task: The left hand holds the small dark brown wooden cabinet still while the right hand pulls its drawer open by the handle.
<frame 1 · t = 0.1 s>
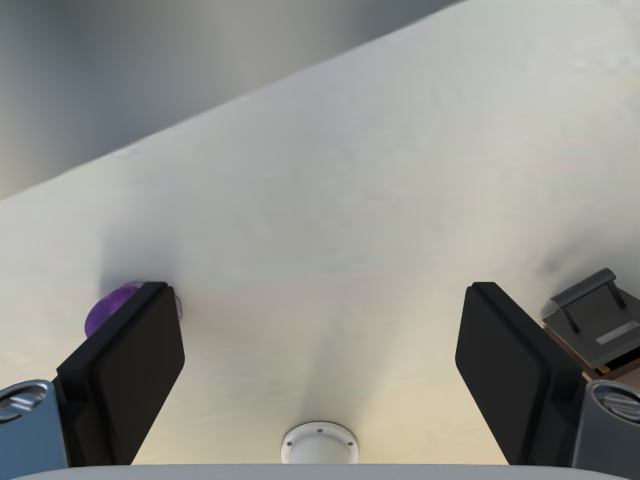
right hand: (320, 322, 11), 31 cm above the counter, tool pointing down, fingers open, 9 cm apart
figurine: (149, 304, 47), on the counter
cabinet: (605, 359, 50), on the counter
drawer: (620, 356, 43), point 5 cm above the counter, slide at 1.4 cm
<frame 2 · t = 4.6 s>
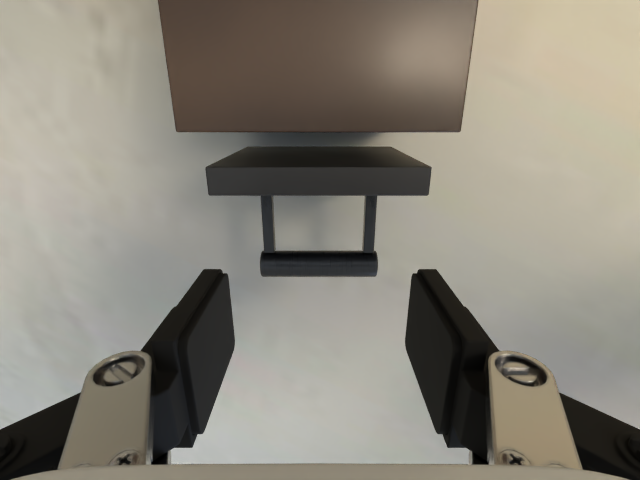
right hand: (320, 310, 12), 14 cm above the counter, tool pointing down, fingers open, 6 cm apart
drawer: (318, 35, 16), point 5 cm above the counter, slide at 1.4 cm
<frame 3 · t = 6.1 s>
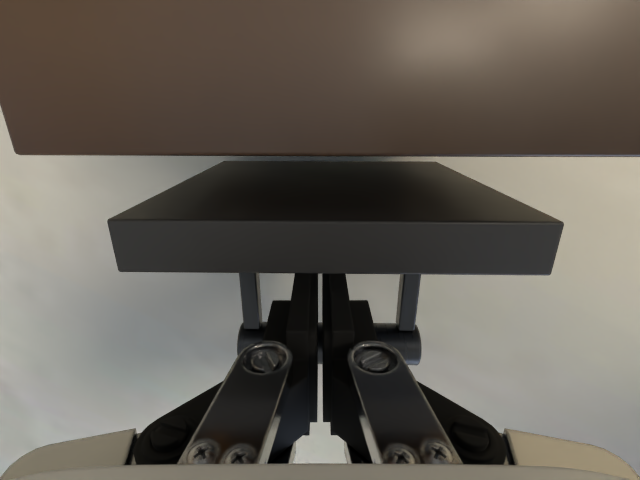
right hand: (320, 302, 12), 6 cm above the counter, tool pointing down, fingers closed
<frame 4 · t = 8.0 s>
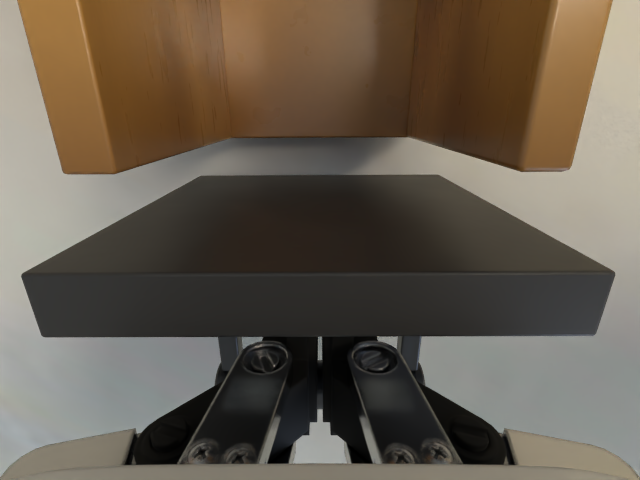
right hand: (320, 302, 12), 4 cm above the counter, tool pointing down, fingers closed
when the left hand's fingers open (6 cm above the counter, at t = 9.8 s): cabinet stays where it is, on the counter.
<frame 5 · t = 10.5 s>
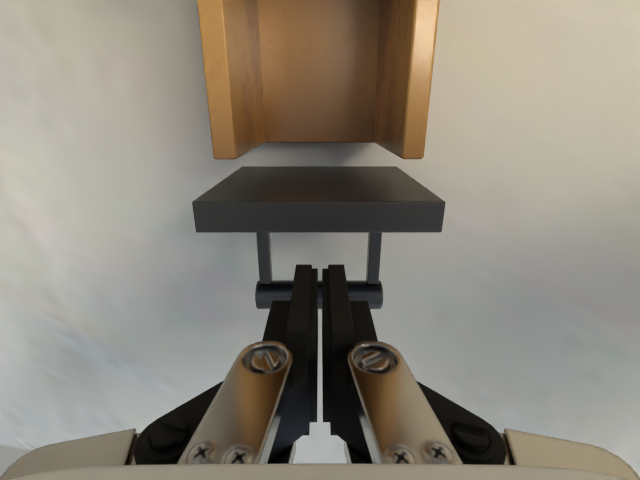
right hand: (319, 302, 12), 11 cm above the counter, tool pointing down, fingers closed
drawer: (319, 51, 15), point 5 cm above the counter, slide at 10.7 cm
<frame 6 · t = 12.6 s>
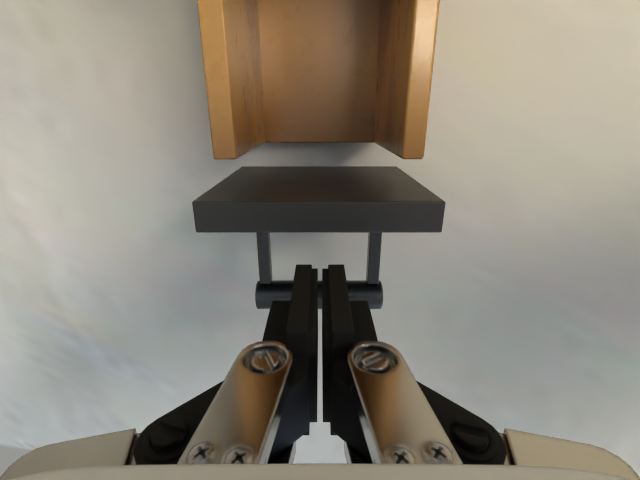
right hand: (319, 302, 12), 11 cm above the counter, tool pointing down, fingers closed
drawer: (319, 51, 15), point 5 cm above the counter, slide at 10.7 cm
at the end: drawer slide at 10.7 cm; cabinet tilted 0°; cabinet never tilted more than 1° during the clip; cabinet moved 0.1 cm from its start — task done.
